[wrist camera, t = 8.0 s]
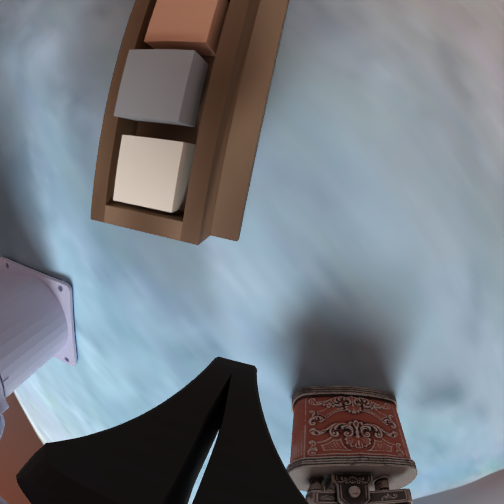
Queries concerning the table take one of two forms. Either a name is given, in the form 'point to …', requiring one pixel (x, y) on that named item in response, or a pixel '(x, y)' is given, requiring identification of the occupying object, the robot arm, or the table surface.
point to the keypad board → (200, 127)
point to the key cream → (153, 172)
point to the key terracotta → (187, 25)
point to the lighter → (349, 447)
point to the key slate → (161, 86)
